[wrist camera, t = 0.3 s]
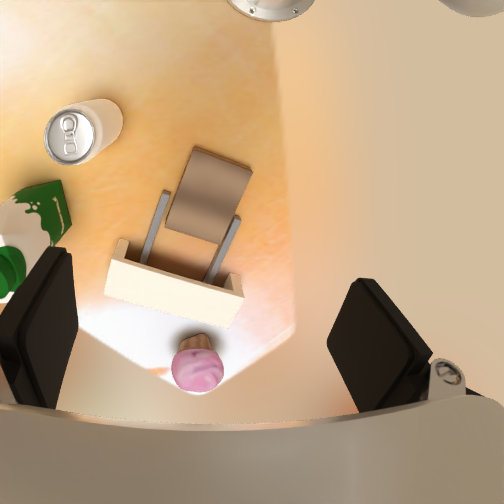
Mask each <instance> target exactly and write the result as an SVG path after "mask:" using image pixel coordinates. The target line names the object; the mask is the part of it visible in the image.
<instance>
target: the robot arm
mask: <svg viewBox="0 0 504 504" xmlns="http://www.w3.org/2000/svg"><path fill="white" fill-rule="evenodd" d="M227 1H228V2H229V3H230V4H231V5H232V6H233V7H234V8H235V9H236V10H238V11H239V12H240V13H242V14H244V15H246V16H248V17H250V18H253V19H256V20H259V21H266V22H280V21H286V20H290V19H292V18H295V17H297V16H299V15H301V14H302V13H303V12H305V11H306V10H308V8H309V7H310V6H311V5H312V4H313V2H314V0H227ZM439 1H441V2H442V3H443V4H445V5H446V6H447V7H449V8H450V9H452V10H454V11H456V12H458V13H460V14H463V15H466V16H470V17H486V16H492V15H495V14H498V13H500V12H503V11H504V0H439ZM292 10H294V11H295V13H293V12H292ZM250 11H253V13H250ZM77 332H78V315H77V307H76V299H75V289H74V279H73V266H72V255H71V253H67V251H66V249H65V248H62V247H54V246H48V247H47V248H46V249H45V251H44V252H43V254H42V255H41V256H40V258H39V259H38V261H37V262H36V264H35V265H34V266H33V268H32V269H31V271H30V272H29V274H28V275H27V277H26V278H25V280H24V281H23V283H22V284H21V285H19V286H18V287H17V289H16V290H15V292H14V294H13V295H12V297H11V298H10V300H9V301H8V303H7V305H6V307H5V308H4V310H3V311H2V313H1V315H0V504H504V407H503V406H502V405H501V404H500V403H498V402H497V401H495V400H493V399H490V398H487V397H484V396H482V395H480V394H478V393H476V392H474V391H472V390H470V389H468V388H466V387H465V377H464V374H463V373H462V371H461V370H460V369H459V368H458V366H456V365H455V364H454V363H452V362H451V361H448V360H446V359H441V358H438V359H435V360H434V361H433V362H432V363H431V364H429V363H428V360H429V358H430V357H431V356H432V354H433V352H432V351H431V350H430V348H429V347H428V346H427V344H426V343H425V342H424V340H423V339H422V338H421V337H420V336H419V334H418V333H417V332H416V330H415V329H414V328H413V326H412V325H411V324H410V323H409V321H408V320H407V319H406V318H405V316H404V315H403V314H402V313H401V311H400V310H399V309H398V308H397V306H396V305H395V304H394V303H393V301H392V300H391V299H390V298H389V297H388V295H387V294H386V293H385V292H384V290H383V289H382V288H381V287H380V286H379V285H378V283H377V282H376V281H375V280H374V279H368V278H358V279H357V280H356V281H355V282H353V283H352V284H351V286H350V289H349V291H348V293H347V295H346V298H345V300H344V302H343V305H342V307H341V309H340V312H339V314H338V316H337V318H336V321H335V323H334V325H333V327H332V329H331V332H330V334H329V336H328V338H327V347H328V349H329V352H330V353H331V356H332V358H333V359H334V362H335V364H336V366H337V368H338V370H339V372H340V374H341V376H342V378H343V380H344V382H345V384H346V386H347V388H348V390H349V392H350V394H351V396H352V399H353V401H354V403H355V405H356V407H357V409H358V411H359V413H357V414H350V415H343V416H335V417H328V418H319V419H310V420H300V421H289V422H273V423H253V424H182V423H180V424H179V423H162V422H147V421H135V420H127V419H117V418H109V417H100V416H92V415H85V414H79V413H73V412H67V411H61V410H55V409H56V404H57V400H58V397H59V393H60V389H61V385H62V381H63V378H64V374H65V371H66V367H67V364H68V360H69V357H70V354H71V350H72V347H73V344H74V341H75V338H76V335H77Z"/></svg>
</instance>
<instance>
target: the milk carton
mask: <svg viewBox="0 0 504 504" xmlns="http://www.w3.org/2000/svg"><path fill="white" fill-rule="evenodd" d="M71 225H72V224H71V220H70V216H69V213H68V209H67V205H66V201H65V197H64V193H63V188H62V184H61V180H59V181H54V182H50V183H46V184H42V185H38V186H34V187H30V188H26V189H22V190H20V191H18V192H17V193H15V194H14V195H12V196H11V197H10V198H8V199H7V200H6V201H5V202H3V203H2V204H1V205H0V303H8V301H9V300H10V298H11V297H12V295H13V294H14V292H15V290H16V289H17V287H18V286H19V285H21V284H22V283H23V281H24V280H25V278H26V277H27V275H28V274H29V272H30V271H31V269H32V268H33V266H34V265H35V264H36V262H37V261H38V259H39V258H40V256H41V255H42V254H43V252H44V251H45V249H46V248H47V247H48V246H55V245H56V244H57V242H58V241H59V240H60V239H61V237H62V236H63V235H64V234H65V232H66V231H67V230H68V229H69V228H70V226H71Z"/></svg>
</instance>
